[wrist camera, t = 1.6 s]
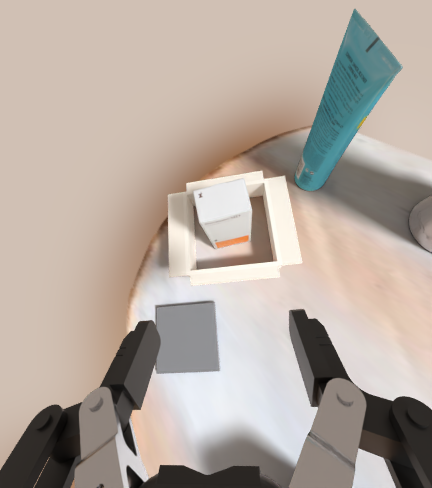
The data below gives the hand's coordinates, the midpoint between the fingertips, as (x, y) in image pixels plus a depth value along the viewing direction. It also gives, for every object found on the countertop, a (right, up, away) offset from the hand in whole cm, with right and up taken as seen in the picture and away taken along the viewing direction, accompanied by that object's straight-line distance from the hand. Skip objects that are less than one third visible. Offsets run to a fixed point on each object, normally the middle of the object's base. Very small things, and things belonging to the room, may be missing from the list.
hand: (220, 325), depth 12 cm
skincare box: (+2, +6, +22) cm, 23 cm away
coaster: (-4, -9, +19) cm, 21 cm away
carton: (+2, +6, +22) cm, 23 cm away
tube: (+15, +16, +22) cm, 31 cm away
